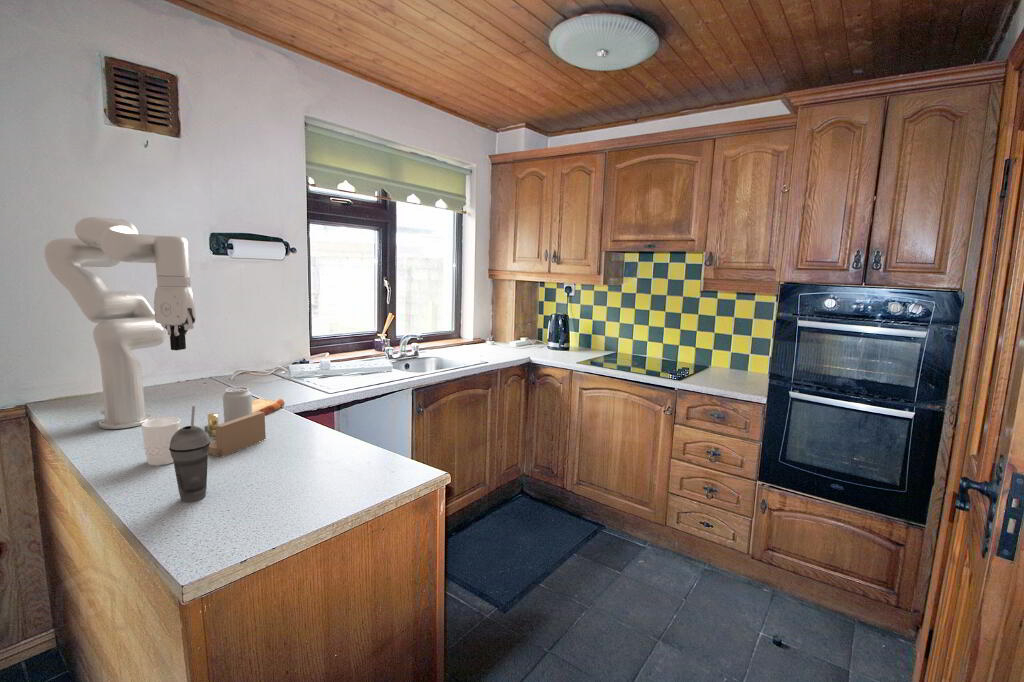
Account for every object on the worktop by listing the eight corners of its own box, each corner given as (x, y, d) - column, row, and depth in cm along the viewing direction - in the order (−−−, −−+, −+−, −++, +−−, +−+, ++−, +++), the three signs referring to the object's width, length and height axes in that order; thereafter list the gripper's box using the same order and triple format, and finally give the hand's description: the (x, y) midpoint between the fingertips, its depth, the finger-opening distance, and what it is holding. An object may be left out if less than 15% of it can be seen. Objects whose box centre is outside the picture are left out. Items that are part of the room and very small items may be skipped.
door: (149, 442, 135) (147, 414, 134) (196, 427, 148) (194, 401, 147) (223, 456, 127) (221, 426, 126) (265, 439, 140) (264, 412, 139)
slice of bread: (237, 425, 152) (236, 413, 152) (223, 411, 166) (222, 400, 165) (297, 414, 164) (296, 404, 164) (279, 402, 178) (279, 392, 177)
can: (240, 432, 145) (238, 392, 143) (218, 430, 146) (216, 390, 145) (258, 424, 152) (256, 386, 150) (237, 422, 154) (235, 385, 152)
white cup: (141, 468, 118) (138, 428, 117) (147, 457, 125) (144, 419, 124) (181, 463, 122) (178, 424, 120) (184, 452, 129) (182, 415, 127)
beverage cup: (185, 489, 108) (179, 401, 105) (219, 489, 109) (214, 401, 106) (164, 505, 101) (157, 411, 98) (202, 505, 102) (196, 411, 99)
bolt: (206, 434, 136) (205, 415, 135) (214, 432, 138) (213, 412, 137) (232, 439, 133) (231, 419, 132) (240, 436, 135) (239, 416, 134)
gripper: (139, 281, 132) (145, 349, 135) (181, 284, 128) (186, 354, 131) (166, 281, 139) (171, 345, 142) (207, 283, 135) (211, 349, 138)
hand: (178, 349), depth 136 cm, fingers closed
